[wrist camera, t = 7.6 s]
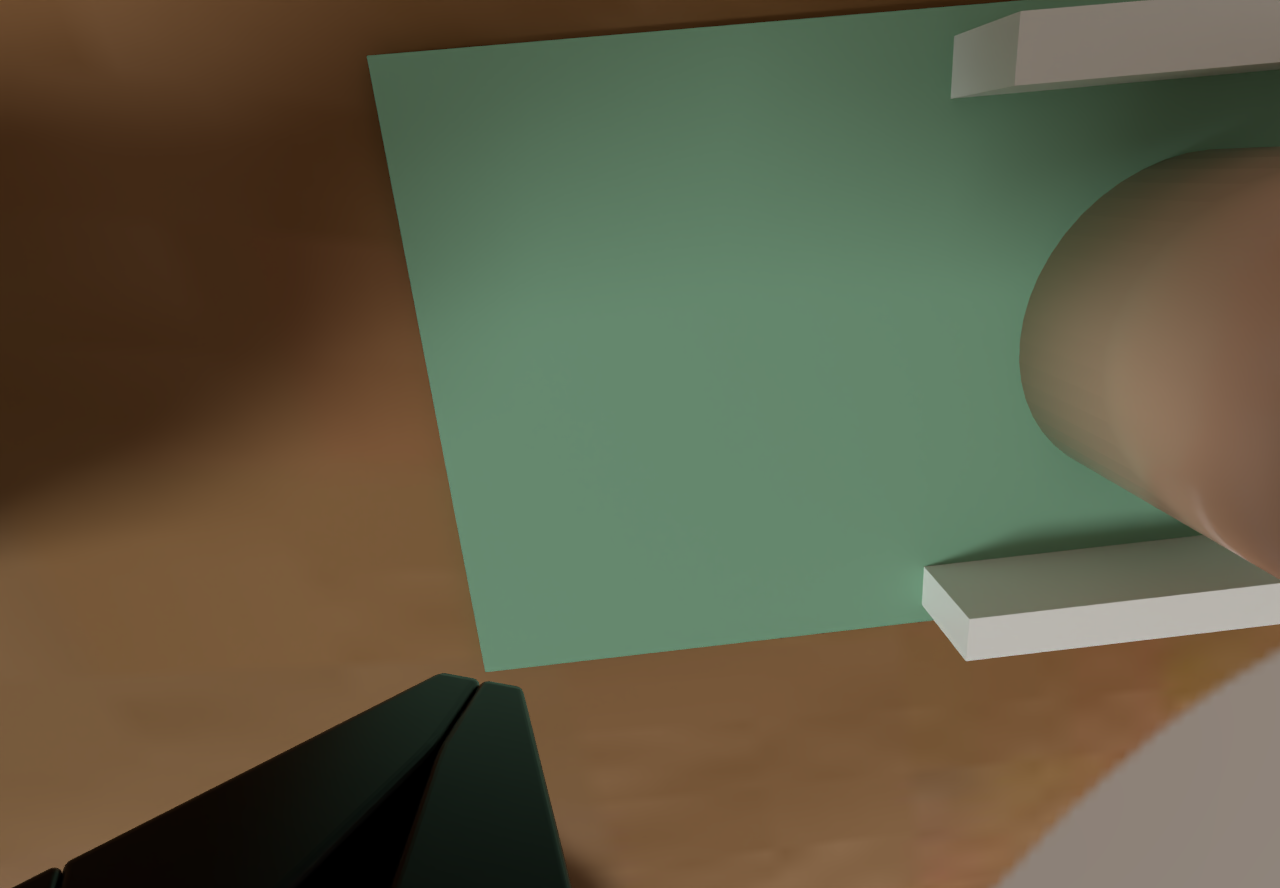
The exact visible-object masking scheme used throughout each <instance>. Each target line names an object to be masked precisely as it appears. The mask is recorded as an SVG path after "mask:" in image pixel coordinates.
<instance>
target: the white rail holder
mask: <svg viewBox="0 0 1280 888" xmlns="http://www.w3.org/2000/svg"><path fill="white" fill-rule="evenodd" d="M1279 69H1280V0H1145V1H1133V2H1121V3H1109V4H1098V5H1086V6H1074V7H1062V8H1051V9H1039V10H1027V11H1019V12H1017V13H1014V14H1011V15H1009V16H1006V17H1003V18H1001V19H998V20H995V21H993V22H990V23H987V24H985V25H982V26H979V27H977V28H974V29H971V30H969V31H966V32H963V33H961V34H958V35H955V36H954V49H953V66H952V84H951V99H954V98H966V97H977V96H988V95H999V94H1010V93H1022V92H1033V91H1044V90H1055V89H1066V88H1077V87H1089V86H1100V85H1111V84H1122V83H1133V82H1145V81H1156V80H1167V79H1178V78H1189V77H1201V76H1212V75H1223V74H1234V73H1245V72H1257V71H1268V70H1279ZM922 606H923V607H924V608H925V609H926V611H927V612H928V613H929V615H930V616H931V617H932V618H933V620H934V621H935V622H936V623H937V625H938V626H939V627H940V629H941V630H942V631H943V632H944V634H945V635H946V636H947V637H948V639H949V640H950V641H951V643H952V644H953V645H954V646H955V648H956V649H957V650H958V652H959V653H960V654H961V655H962V657H963V658H964V659H965V660H966V661H971V660H979V659H988V658H996V657H1005V656H1013V655H1022V654H1030V653H1039V652H1047V651H1055V650H1064V649H1072V648H1081V647H1089V646H1098V645H1106V644H1115V643H1123V642H1132V641H1140V640H1149V639H1157V638H1165V637H1174V636H1182V635H1191V634H1199V633H1208V632H1216V631H1225V630H1233V629H1242V628H1250V627H1259V626H1267V625H1275V624H1280V579H1278V578H1276V577H1274V576H1273V575H1271V574H1269V573H1267V572H1266V571H1264V570H1262V569H1261V568H1259V567H1257V566H1255V565H1254V564H1252V563H1250V562H1249V561H1247V560H1245V559H1243V558H1242V557H1240V556H1238V555H1237V554H1235V553H1233V552H1231V551H1230V550H1228V549H1226V548H1225V547H1223V546H1221V545H1219V544H1218V543H1216V542H1214V541H1213V540H1211V539H1209V538H1207V537H1206V536H1204V535H1199V536H1190V537H1181V538H1173V539H1164V540H1155V541H1146V542H1137V543H1128V544H1120V545H1111V546H1102V547H1093V548H1084V549H1075V550H1067V551H1058V552H1049V553H1040V554H1031V555H1022V556H1013V557H1005V558H996V559H987V560H978V561H969V562H960V563H952V564H943V565H934V566H925V567H924V575H923V593H922Z"/></svg>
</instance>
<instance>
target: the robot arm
mask: <svg viewBox="0 0 1280 888" xmlns="http://www.w3.org/2000/svg"><path fill="white" fill-rule="evenodd" d="M13 888H572V886H571V882H570V878H569V874H568V870H567V866H566V862H565V858H564V854H563V850H562V846H561V842H560V838H559V834H558V830H557V826H556V822H555V818H554V814H553V810H552V806H551V802H550V798H549V794H548V790H547V786H546V782H545V778H544V774H543V770H542V766H541V762H540V758H539V753H538V749H537V745H536V741H535V737H534V733H533V729H532V725H531V721H530V717H529V713H528V709H527V705H526V701H525V697H524V693H523V691H522V689H521V688H519V687H517V686H512V685H506V684H501V683H495V682H490V681H488V682H483V683H482V684H481V685H480V686H479V682H478V681H477V680H476V679H473V678H468V677H462V676H457V675H452V674H446V673H441V674H438V675H435V676H433V677H431V678H429V679H427V680H425V681H423V682H421V683H419V684H417V685H415V686H413V687H411V688H409V689H407V690H405V691H403V692H401V693H399V694H397V695H396V696H394V697H392V698H390V699H388V700H386V701H384V702H382V703H380V704H378V705H376V706H374V707H372V708H370V709H368V710H366V711H364V712H362V713H360V714H358V715H356V716H354V717H352V718H350V719H348V720H346V721H344V722H342V723H340V724H338V725H336V726H334V727H332V728H330V729H328V730H326V731H325V732H323V733H321V734H319V735H317V736H315V737H313V738H311V739H309V740H307V741H305V742H303V743H301V744H299V745H297V746H295V747H293V748H291V749H289V750H287V751H285V752H283V753H281V754H279V755H277V756H275V757H273V758H271V759H269V760H267V761H265V762H263V763H261V764H259V765H257V766H255V767H254V768H252V769H250V770H248V771H246V772H244V773H242V774H240V775H238V776H236V777H234V778H232V779H230V780H228V781H226V782H224V783H222V784H220V785H218V786H216V787H214V788H212V789H210V790H208V791H206V792H204V793H202V794H200V795H198V796H196V797H194V798H192V799H190V800H188V801H186V802H185V803H183V804H181V805H179V806H177V807H175V808H173V809H171V810H169V811H167V812H165V813H163V814H161V815H159V816H157V817H155V818H153V819H151V820H149V821H147V822H145V823H143V824H141V825H139V826H137V827H135V828H133V829H131V830H129V831H127V832H125V833H123V834H121V835H119V836H117V837H115V838H114V839H112V840H110V841H108V842H106V843H104V844H102V845H100V846H98V847H96V848H94V849H92V850H90V851H88V852H86V853H84V854H82V855H80V856H78V857H76V858H74V859H72V860H70V861H69V862H68V863H67V864H66V865H65V867H64V869H63V873H62V872H61V870H60V869H58V868H50V869H48V870H46V871H44V872H42V873H40V874H38V875H36V876H34V877H32V878H30V879H28V880H27V881H25V882H23V883H21V884H19V885H17V886H15V887H13Z"/></svg>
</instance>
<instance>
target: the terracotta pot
mask: <svg viewBox="0 0 1280 888" xmlns="http://www.w3.org/2000/svg"><path fill="white" fill-rule="evenodd" d="M1019 364H1020V374H1021V383H1022V387H1023V391H1024V395H1025V399H1026V401H1027V404H1028V406H1029V409H1030V411H1031V413H1032V416H1033V418H1034V419H1035V421H1036V422H1037V424H1038V426H1039V427H1040V429H1041V431H1042V432H1043V433H1044V434H1045V435H1046V437H1047V438H1048V439H1049V440H1050V441H1051V442H1052V443H1053V445H1055V446H1056V447H1057V448H1058V449H1059V450H1061V451H1062V452H1063V453H1064V454H1066V455H1067V456H1068V457H1070V458H1072V459H1074V460H1075V461H1077V462H1079V463H1080V464H1082V465H1084V466H1086V467H1087V468H1089V469H1091V470H1092V471H1094V472H1096V473H1098V474H1099V475H1101V476H1103V477H1104V478H1106V479H1108V480H1110V481H1111V482H1113V483H1115V484H1116V485H1118V486H1120V487H1122V488H1123V489H1125V490H1127V491H1128V492H1130V493H1132V494H1134V495H1135V496H1137V497H1139V498H1141V499H1142V500H1144V501H1146V502H1147V503H1149V504H1151V505H1153V506H1154V507H1156V508H1158V509H1159V510H1161V511H1163V512H1165V513H1166V514H1168V515H1170V516H1171V517H1173V518H1175V519H1177V520H1178V521H1180V522H1182V523H1183V524H1185V525H1187V526H1189V527H1190V528H1192V529H1194V530H1195V531H1197V532H1199V533H1201V534H1202V535H1204V536H1206V537H1207V538H1209V539H1211V540H1213V541H1214V542H1216V543H1218V544H1219V545H1221V546H1223V547H1225V548H1226V549H1228V550H1230V551H1231V552H1233V553H1235V554H1237V555H1238V556H1240V557H1242V558H1243V559H1245V560H1247V561H1249V562H1250V563H1252V564H1254V565H1255V566H1257V567H1259V568H1261V569H1262V570H1264V571H1266V572H1267V573H1269V574H1271V575H1273V576H1274V577H1276V578H1278V579H1280V146H1275V147H1251V148H1226V149H1208V150H1202V151H1196V152H1189V153H1185V154H1182V155H1179V156H1175V157H1172V158H1169V159H1165V160H1163V161H1161V162H1158V163H1156V164H1154V165H1152V166H1149V167H1147V168H1145V169H1142V170H1141V171H1139V172H1137V173H1136V174H1134V175H1132V176H1131V177H1129V178H1127V179H1125V180H1124V181H1122V182H1120V183H1119V184H1118V185H1116V186H1115V187H1114V188H1112V189H1111V190H1110V191H1108V192H1107V193H1106V194H1104V195H1103V196H1102V197H1100V198H1099V199H1098V200H1097V201H1096V202H1095V203H1094V204H1093V205H1092V206H1091V207H1090V208H1088V209H1087V210H1086V211H1085V212H1084V213H1083V214H1082V215H1081V216H1080V217H1079V218H1078V220H1077V221H1076V222H1075V223H1074V224H1073V225H1072V226H1071V228H1070V229H1069V230H1068V231H1067V232H1066V233H1065V235H1064V236H1063V238H1062V239H1061V240H1060V242H1059V243H1058V245H1057V246H1056V247H1055V249H1054V250H1053V252H1052V253H1051V255H1050V257H1049V258H1048V260H1047V262H1046V264H1045V266H1044V267H1043V269H1042V271H1041V273H1040V275H1039V277H1038V279H1037V281H1036V284H1035V286H1034V289H1033V291H1032V293H1031V296H1030V298H1029V302H1028V305H1027V309H1026V312H1025V316H1024V319H1023V325H1022V331H1021V337H1020V354H1019Z"/></svg>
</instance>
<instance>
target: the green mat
mask: <svg viewBox="0 0 1280 888" xmlns="http://www.w3.org/2000/svg"><path fill="white" fill-rule="evenodd" d="M1133 1H1145V0H1020V1H1008V2H996V3H985V4H973V5H961V6H949V7H937V8H926V9H914V10H902V11H890V12H878V13H866V14H855V15H843V16H831V17H819V18H807V19H795V20H784V21H772V22H760V23H748V24H736V25H725V26H713V27H701V28H689V29H677V30H665V31H654V32H642V33H630V34H618V35H606V36H595V37H583V38H571V39H559V40H547V41H535V42H524V43H512V44H500V45H488V46H476V47H465V48H453V49H441V50H429V51H417V52H405V53H394V54H382V55H370V56H367V60H368V66H369V71H370V76H371V81H372V86H373V91H374V97H375V102H376V107H377V112H378V117H379V123H380V128H381V133H382V138H383V143H384V149H385V154H386V159H387V164H388V169H389V174H390V180H391V185H392V190H393V195H394V200H395V206H396V211H397V216H398V221H399V226H400V232H401V237H402V242H403V247H404V252H405V257H406V263H407V268H408V273H409V278H410V283H411V289H412V294H413V299H414V304H415V309H416V315H417V320H418V325H419V330H420V335H421V340H422V346H423V351H424V356H425V361H426V366H427V372H428V377H429V382H430V387H431V392H432V398H433V403H434V408H435V413H436V418H437V424H438V429H439V434H440V439H441V444H442V449H443V455H444V460H445V465H446V470H447V475H448V481H449V486H450V491H451V496H452V501H453V507H454V512H455V517H456V522H457V527H458V532H459V538H460V543H461V548H462V553H463V558H464V564H465V569H466V574H467V579H468V584H469V590H470V595H471V600H472V605H473V610H474V615H475V621H476V626H477V631H478V636H479V641H480V647H481V652H482V657H483V662H484V667H485V672H491V671H499V670H508V669H517V668H525V667H534V666H543V665H551V664H560V663H569V662H577V661H586V660H594V659H603V658H612V657H620V656H629V655H638V654H646V653H655V652H663V651H672V650H681V649H689V648H698V647H707V646H715V645H724V644H732V643H741V642H750V641H758V640H767V639H776V638H784V637H793V636H801V635H810V634H819V633H827V632H836V631H845V630H853V629H862V628H870V627H879V626H888V625H896V624H905V623H914V622H922V621H931V620H933V618H932V617H931V616H930V615H929V613H928V612H927V611H926V609H925V608H924V607H923V606H922V593H923V575H924V567H925V566H934V565H943V564H952V563H960V562H969V561H978V560H987V559H996V558H1005V557H1013V556H1022V555H1031V554H1040V553H1049V552H1058V551H1067V550H1075V549H1084V548H1093V547H1102V546H1111V545H1120V544H1128V543H1137V542H1146V541H1155V540H1164V539H1173V538H1181V537H1190V536H1199V535H1202V534H1201V533H1199V532H1197V531H1195V530H1194V529H1192V528H1190V527H1189V526H1187V525H1185V524H1183V523H1182V522H1180V521H1178V520H1177V519H1175V518H1173V517H1171V516H1170V515H1168V514H1166V513H1165V512H1163V511H1161V510H1159V509H1158V508H1156V507H1154V506H1153V505H1151V504H1149V503H1147V502H1146V501H1144V500H1142V499H1141V498H1139V497H1137V496H1135V495H1134V494H1132V493H1130V492H1128V491H1127V490H1125V489H1123V488H1122V487H1120V486H1118V485H1116V484H1115V483H1113V482H1111V481H1110V480H1108V479H1106V478H1104V477H1103V476H1101V475H1099V474H1098V473H1096V472H1094V471H1092V470H1091V469H1089V468H1087V467H1086V466H1084V465H1082V464H1080V463H1079V462H1077V461H1075V460H1074V459H1072V458H1070V457H1068V456H1067V455H1066V454H1064V453H1063V452H1062V451H1061V450H1059V449H1058V448H1057V447H1056V446H1055V445H1053V443H1052V442H1051V441H1050V440H1049V439H1048V438H1047V437H1046V435H1045V434H1044V433H1043V432H1042V431H1041V429H1040V427H1039V426H1038V424H1037V422H1036V421H1035V419H1034V418H1033V416H1032V413H1031V411H1030V409H1029V406H1028V404H1027V401H1026V399H1025V395H1024V391H1023V387H1022V383H1021V374H1020V364H1019V354H1020V337H1021V331H1022V325H1023V319H1024V316H1025V312H1026V309H1027V305H1028V302H1029V298H1030V296H1031V293H1032V291H1033V289H1034V286H1035V284H1036V281H1037V279H1038V277H1039V275H1040V273H1041V271H1042V269H1043V267H1044V266H1045V264H1046V262H1047V260H1048V258H1049V257H1050V255H1051V253H1052V252H1053V250H1054V249H1055V247H1056V246H1057V245H1058V243H1059V242H1060V240H1061V239H1062V238H1063V236H1064V235H1065V233H1066V232H1067V231H1068V230H1069V229H1070V228H1071V226H1072V225H1073V224H1074V223H1075V222H1076V221H1077V220H1078V218H1079V217H1080V216H1081V215H1082V214H1083V213H1084V212H1085V211H1086V210H1087V209H1088V208H1090V207H1091V206H1092V205H1093V204H1094V203H1095V202H1096V201H1097V200H1098V199H1099V198H1100V197H1102V196H1103V195H1104V194H1106V193H1107V192H1108V191H1110V190H1111V189H1112V188H1114V187H1115V186H1116V185H1118V184H1119V183H1120V182H1122V181H1124V180H1125V179H1127V178H1129V177H1131V176H1132V175H1134V174H1136V173H1137V172H1139V171H1141V170H1142V169H1145V168H1147V167H1149V166H1152V165H1154V164H1156V163H1158V162H1161V161H1163V160H1165V159H1169V158H1172V157H1175V156H1179V155H1182V154H1185V153H1189V152H1196V151H1202V150H1208V149H1226V148H1251V147H1275V146H1280V69H1279V70H1268V71H1257V72H1245V73H1234V74H1223V75H1212V76H1201V77H1189V78H1178V79H1167V80H1156V81H1145V82H1133V83H1122V84H1111V85H1100V86H1089V87H1077V88H1066V89H1055V90H1044V91H1033V92H1022V93H1010V94H999V95H988V96H977V97H966V98H954V99H951V84H952V66H953V49H954V36H955V35H958V34H961V33H963V32H966V31H969V30H971V29H974V28H977V27H979V26H982V25H985V24H987V23H990V22H993V21H995V20H998V19H1001V18H1003V17H1006V16H1009V15H1011V14H1014V13H1017V12H1019V11H1027V10H1039V9H1051V8H1062V7H1074V6H1086V5H1098V4H1109V3H1121V2H1133Z"/></svg>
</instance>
